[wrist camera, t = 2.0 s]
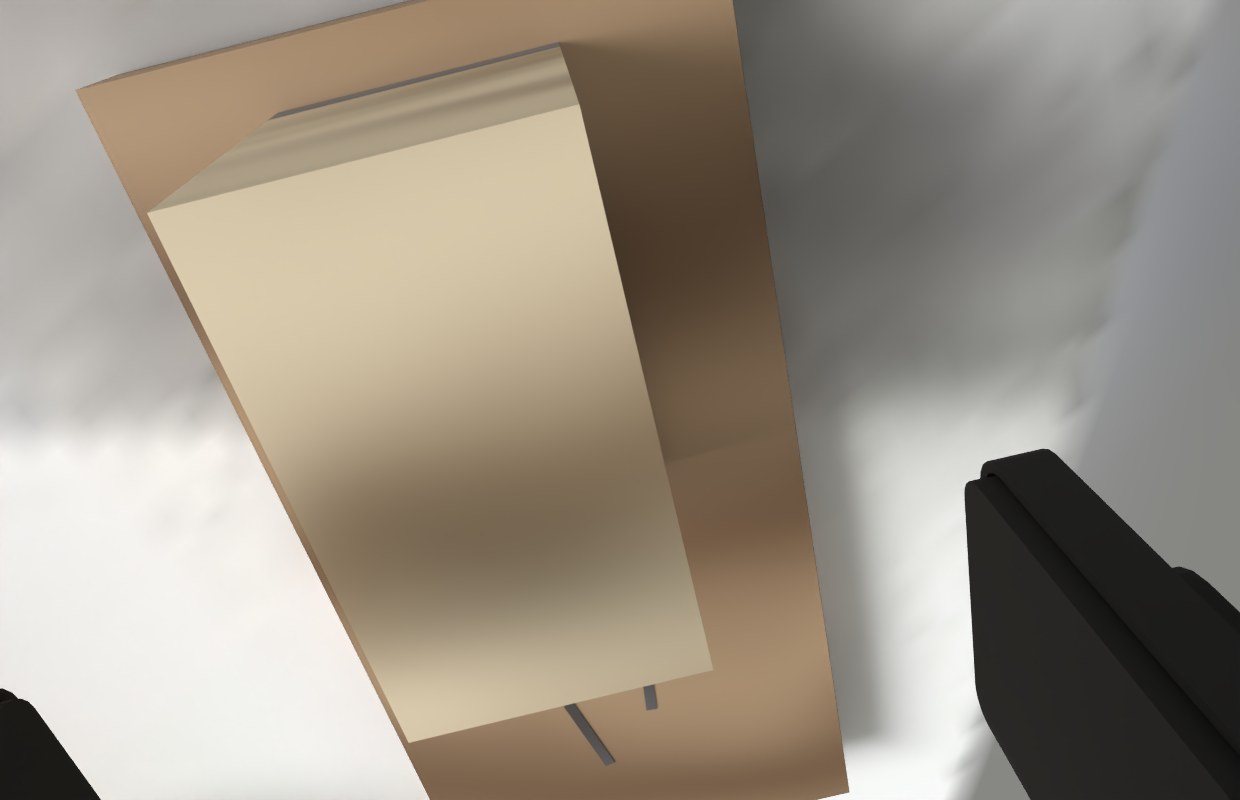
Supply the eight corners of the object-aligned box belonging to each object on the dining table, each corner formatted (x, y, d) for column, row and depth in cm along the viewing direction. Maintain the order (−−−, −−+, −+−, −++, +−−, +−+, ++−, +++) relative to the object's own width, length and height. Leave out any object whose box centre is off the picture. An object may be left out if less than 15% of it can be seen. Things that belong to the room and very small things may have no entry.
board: (115, 75, 15) (74, 90, 13) (704, -74, 15) (722, -74, 13) (473, 827, 24) (470, 880, 23) (831, 744, 24) (849, 793, 23)
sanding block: (277, 113, 14) (146, 212, 9) (558, 42, 14) (580, 104, 9) (439, 519, 18) (409, 743, 13) (660, 465, 18) (713, 670, 13)
